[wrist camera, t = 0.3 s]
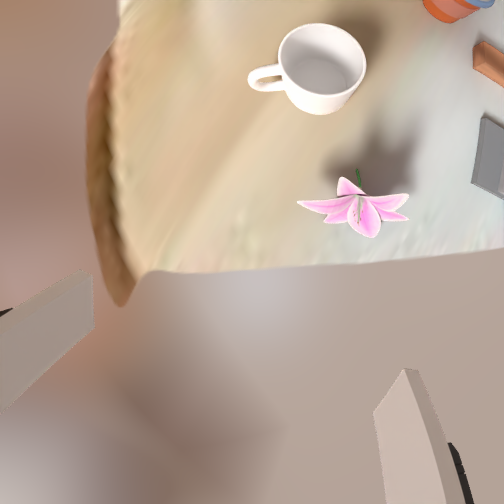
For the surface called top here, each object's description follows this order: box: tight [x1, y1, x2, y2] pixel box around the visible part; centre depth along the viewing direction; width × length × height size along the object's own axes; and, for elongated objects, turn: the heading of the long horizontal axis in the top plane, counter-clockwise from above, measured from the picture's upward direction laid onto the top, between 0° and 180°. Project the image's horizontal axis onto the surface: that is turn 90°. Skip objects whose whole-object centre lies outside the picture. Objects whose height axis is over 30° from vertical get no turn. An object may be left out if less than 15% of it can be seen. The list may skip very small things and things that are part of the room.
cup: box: [248, 23, 366, 115], centre depth 26 cm, size 8×12×10 cm
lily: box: [297, 169, 409, 238], centre depth 31 cm, size 12×12×10 cm
